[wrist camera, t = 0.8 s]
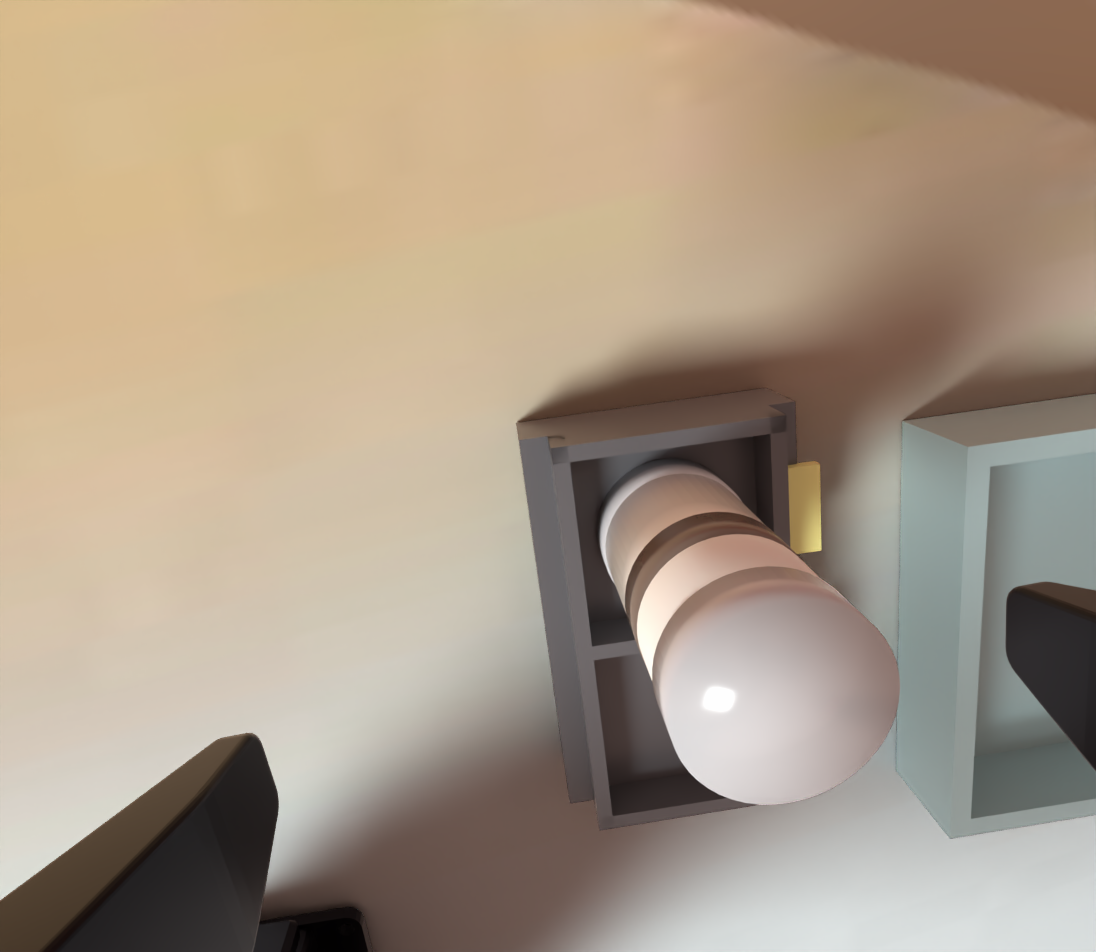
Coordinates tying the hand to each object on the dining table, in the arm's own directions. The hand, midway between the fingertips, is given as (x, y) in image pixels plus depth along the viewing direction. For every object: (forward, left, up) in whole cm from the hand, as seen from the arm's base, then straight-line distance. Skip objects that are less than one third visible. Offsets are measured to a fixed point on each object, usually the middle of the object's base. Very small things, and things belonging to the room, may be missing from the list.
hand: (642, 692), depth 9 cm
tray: (-7, -15, -12) cm, 20 cm away
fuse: (-2, -3, -10) cm, 11 cm away
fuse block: (-5, -3, -12) cm, 13 cm away
